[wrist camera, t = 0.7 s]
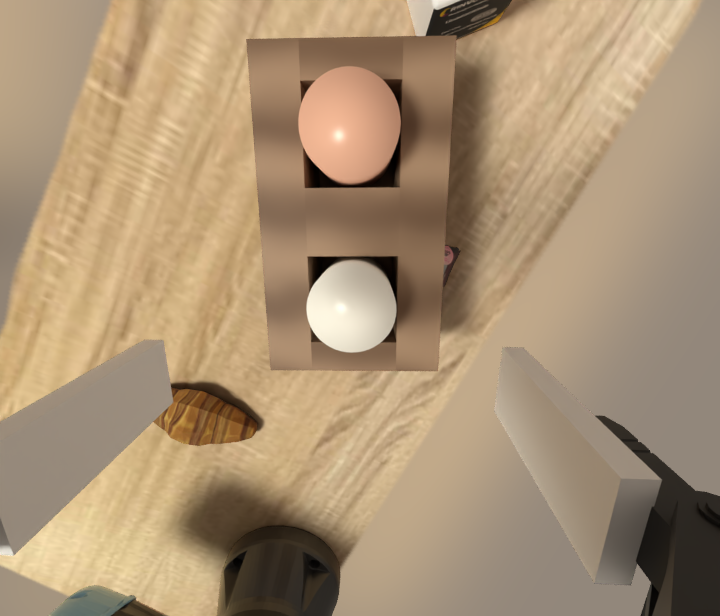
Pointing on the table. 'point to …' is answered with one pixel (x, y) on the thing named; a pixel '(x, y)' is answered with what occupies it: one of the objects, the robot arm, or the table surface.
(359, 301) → the white egg in box
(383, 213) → the wooden egg holder
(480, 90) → the table surface
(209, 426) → the croissant
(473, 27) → the medicine bottle
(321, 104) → the pink egg shaped ball
